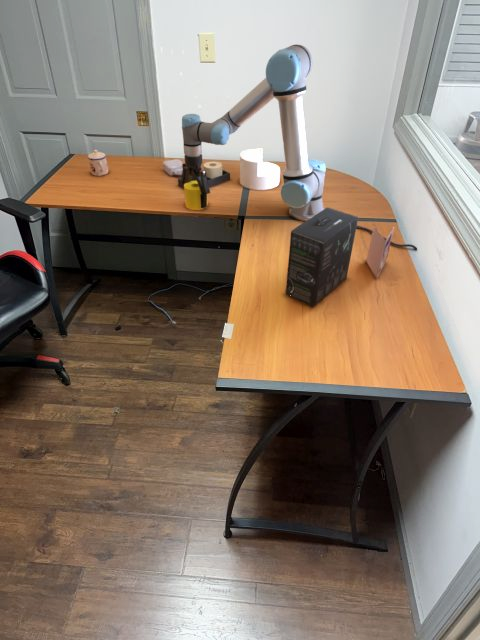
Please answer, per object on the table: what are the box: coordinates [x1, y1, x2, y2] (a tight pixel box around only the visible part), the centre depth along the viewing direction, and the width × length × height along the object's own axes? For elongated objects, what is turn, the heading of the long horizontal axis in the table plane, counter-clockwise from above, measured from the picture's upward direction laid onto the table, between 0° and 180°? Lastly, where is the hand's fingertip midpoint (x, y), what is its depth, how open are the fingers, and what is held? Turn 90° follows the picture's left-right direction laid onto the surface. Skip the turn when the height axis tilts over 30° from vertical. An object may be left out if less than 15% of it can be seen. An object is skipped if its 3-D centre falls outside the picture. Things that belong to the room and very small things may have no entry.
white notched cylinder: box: [239, 147, 281, 191], centre depth 215 cm, size 20×20×13 cm
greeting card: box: [365, 224, 395, 279], centre depth 154 cm, size 11×7×15 cm, turn 151°
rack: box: [177, 169, 231, 189], centre depth 217 cm, size 12×24×4 cm, turn 133°
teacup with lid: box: [87, 149, 109, 177], centre depth 223 cm, size 12×9×12 cm
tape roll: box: [183, 181, 209, 211], centre depth 195 cm, size 10×10×9 cm
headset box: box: [285, 207, 359, 308], centre depth 142 cm, size 22×12×26 cm, turn 141°
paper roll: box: [203, 161, 223, 179], centre depth 218 cm, size 9×9×7 cm
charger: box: [162, 158, 183, 177], centre depth 225 cm, size 5×9×15 cm
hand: (196, 203), depth 198 cm, fingers closed on tape roll, 10 cm apart
